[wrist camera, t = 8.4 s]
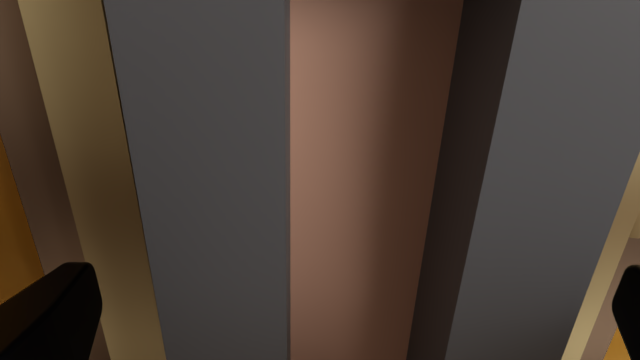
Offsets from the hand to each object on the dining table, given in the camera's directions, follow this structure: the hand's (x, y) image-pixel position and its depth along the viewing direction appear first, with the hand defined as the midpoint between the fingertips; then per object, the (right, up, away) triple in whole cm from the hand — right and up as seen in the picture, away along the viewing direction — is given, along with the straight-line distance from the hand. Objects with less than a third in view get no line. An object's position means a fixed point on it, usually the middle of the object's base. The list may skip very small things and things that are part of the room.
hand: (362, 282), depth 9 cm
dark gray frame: (0, +1, +2) cm, 3 cm away
